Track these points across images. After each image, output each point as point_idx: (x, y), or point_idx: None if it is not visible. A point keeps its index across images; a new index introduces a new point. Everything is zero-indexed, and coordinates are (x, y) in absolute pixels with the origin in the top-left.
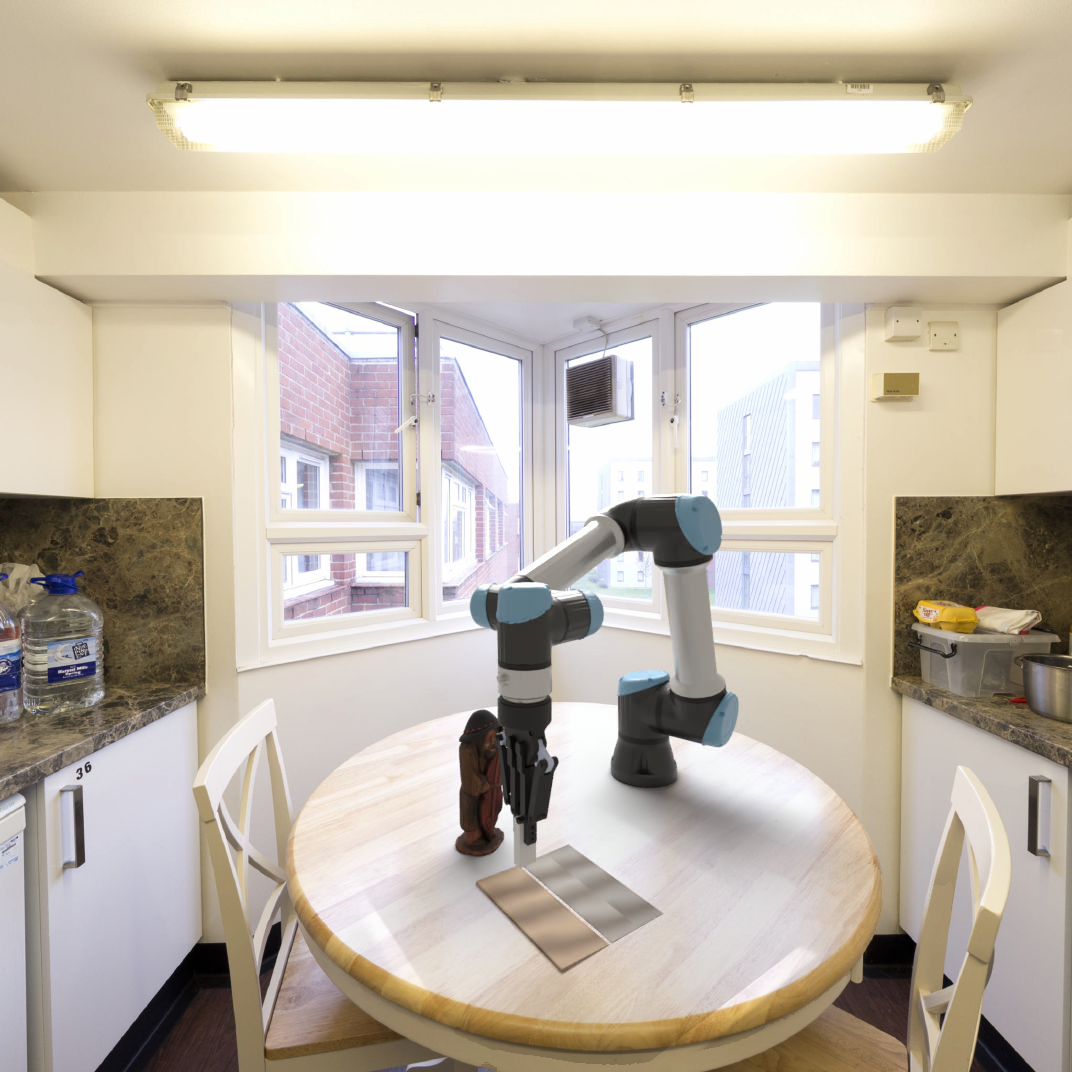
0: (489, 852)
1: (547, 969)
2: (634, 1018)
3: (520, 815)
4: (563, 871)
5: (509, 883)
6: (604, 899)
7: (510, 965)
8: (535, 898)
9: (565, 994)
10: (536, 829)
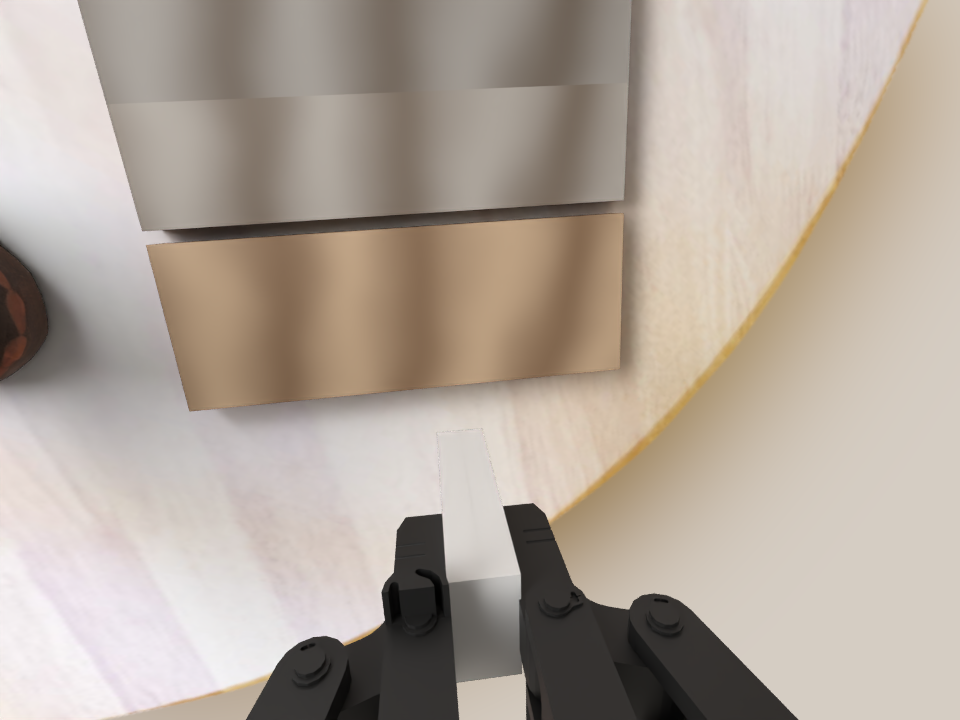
0: (22, 304)
1: None
2: (764, 279)
3: (528, 705)
4: (254, 113)
5: (243, 324)
6: (467, 85)
7: (501, 427)
8: (352, 289)
9: (633, 366)
10: (560, 555)
